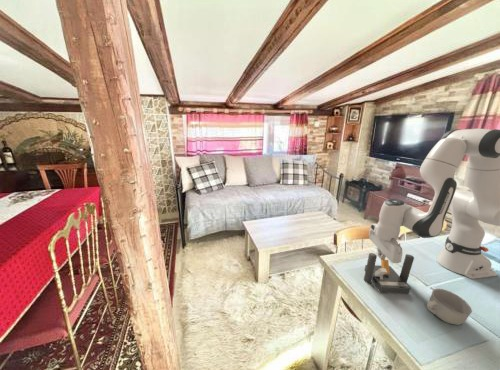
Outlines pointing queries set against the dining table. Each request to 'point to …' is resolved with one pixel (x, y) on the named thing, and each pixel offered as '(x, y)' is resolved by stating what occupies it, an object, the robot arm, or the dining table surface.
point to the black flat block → (390, 282)
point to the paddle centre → (385, 266)
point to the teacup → (449, 306)
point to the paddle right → (380, 272)
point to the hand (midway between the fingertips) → (380, 258)
